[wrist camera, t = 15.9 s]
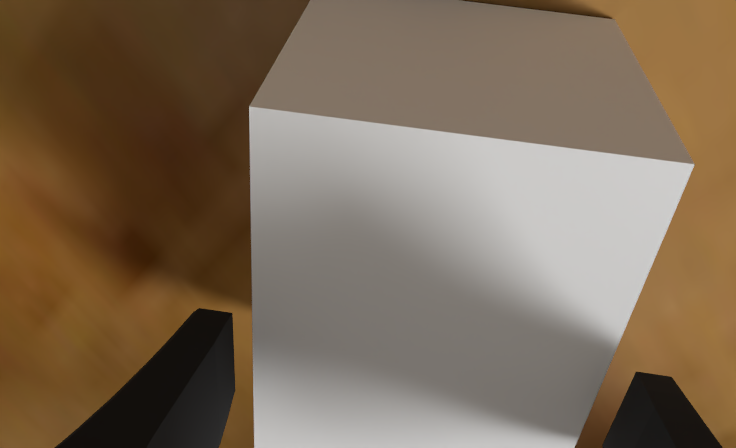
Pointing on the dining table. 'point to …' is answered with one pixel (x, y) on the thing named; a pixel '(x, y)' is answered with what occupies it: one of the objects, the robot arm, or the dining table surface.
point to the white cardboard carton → (449, 223)
